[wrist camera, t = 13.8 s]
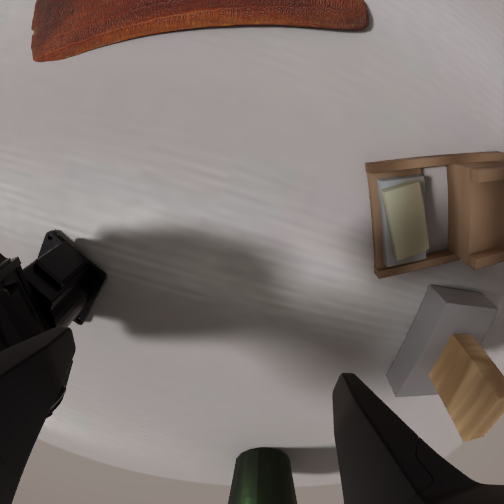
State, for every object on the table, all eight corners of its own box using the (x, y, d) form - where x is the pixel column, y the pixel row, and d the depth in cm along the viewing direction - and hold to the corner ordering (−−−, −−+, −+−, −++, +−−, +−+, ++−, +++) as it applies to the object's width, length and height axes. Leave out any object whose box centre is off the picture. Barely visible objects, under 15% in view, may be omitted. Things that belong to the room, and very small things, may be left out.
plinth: (386, 375, 26) (395, 396, 23) (429, 284, 22) (446, 302, 19) (438, 374, 26) (449, 393, 23) (481, 293, 22) (498, 309, 20)
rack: (374, 272, 22) (393, 299, 18) (365, 163, 19) (388, 170, 15) (496, 243, 21) (523, 261, 17) (497, 151, 18) (529, 158, 14)
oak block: (428, 375, 22) (463, 441, 15) (451, 333, 20) (499, 398, 13) (447, 374, 22) (483, 436, 15) (470, 334, 20) (517, 394, 13)
